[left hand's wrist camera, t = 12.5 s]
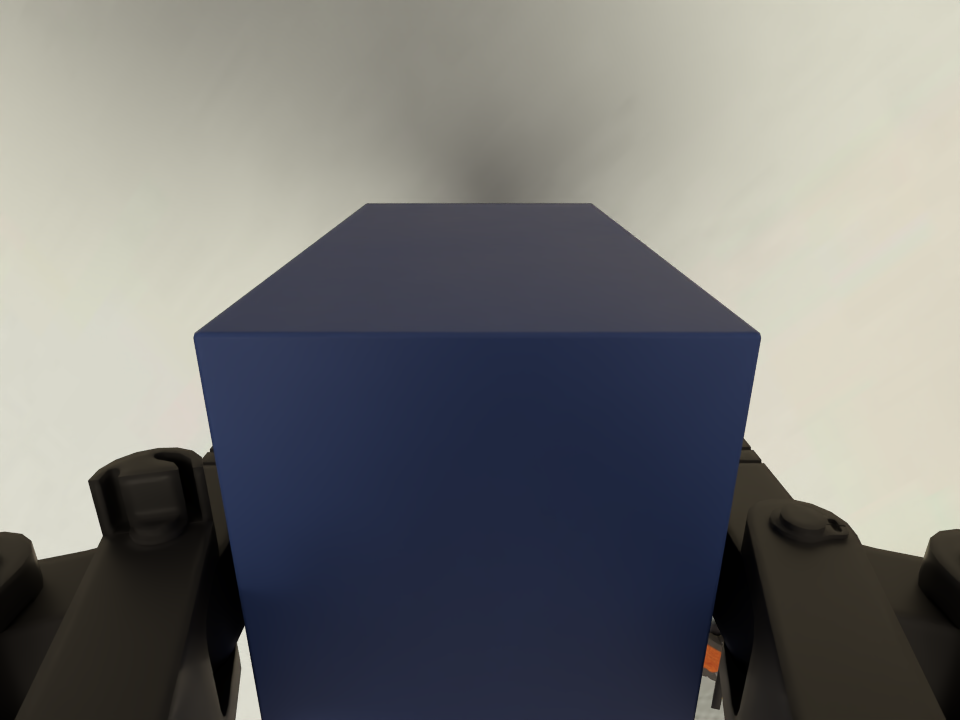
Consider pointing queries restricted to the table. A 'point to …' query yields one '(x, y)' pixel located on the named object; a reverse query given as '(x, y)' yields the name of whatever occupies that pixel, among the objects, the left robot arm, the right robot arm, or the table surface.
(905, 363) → the table surface
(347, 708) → the bar
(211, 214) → the table surface
